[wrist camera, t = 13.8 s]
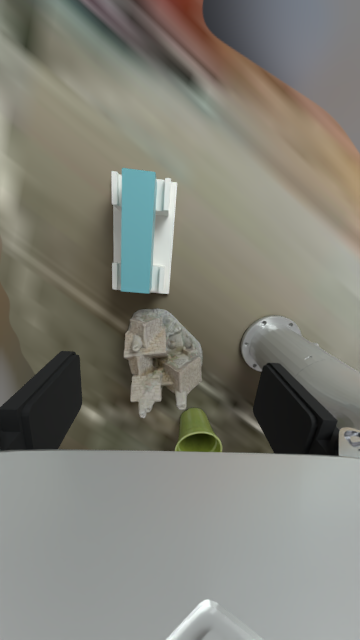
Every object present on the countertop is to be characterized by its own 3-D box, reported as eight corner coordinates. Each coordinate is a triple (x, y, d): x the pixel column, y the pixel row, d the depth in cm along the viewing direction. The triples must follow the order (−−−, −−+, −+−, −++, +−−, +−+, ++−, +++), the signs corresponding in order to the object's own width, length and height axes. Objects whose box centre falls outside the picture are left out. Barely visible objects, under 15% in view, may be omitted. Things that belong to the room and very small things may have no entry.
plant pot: (217, 403, 48) (227, 434, 40) (208, 435, 51) (216, 470, 43) (177, 398, 47) (179, 429, 39) (170, 431, 50) (171, 466, 42)
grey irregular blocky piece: (198, 382, 46) (209, 435, 32) (123, 374, 45) (99, 424, 31) (210, 314, 42) (229, 338, 28) (129, 303, 41) (105, 321, 27)
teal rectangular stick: (157, 183, 30) (155, 172, 26) (151, 288, 34) (149, 293, 30) (128, 180, 29) (121, 167, 25) (126, 286, 34) (120, 291, 30)
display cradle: (176, 184, 34) (178, 170, 29) (168, 293, 40) (168, 299, 34) (114, 176, 34) (103, 161, 28) (115, 288, 39) (105, 294, 33)
